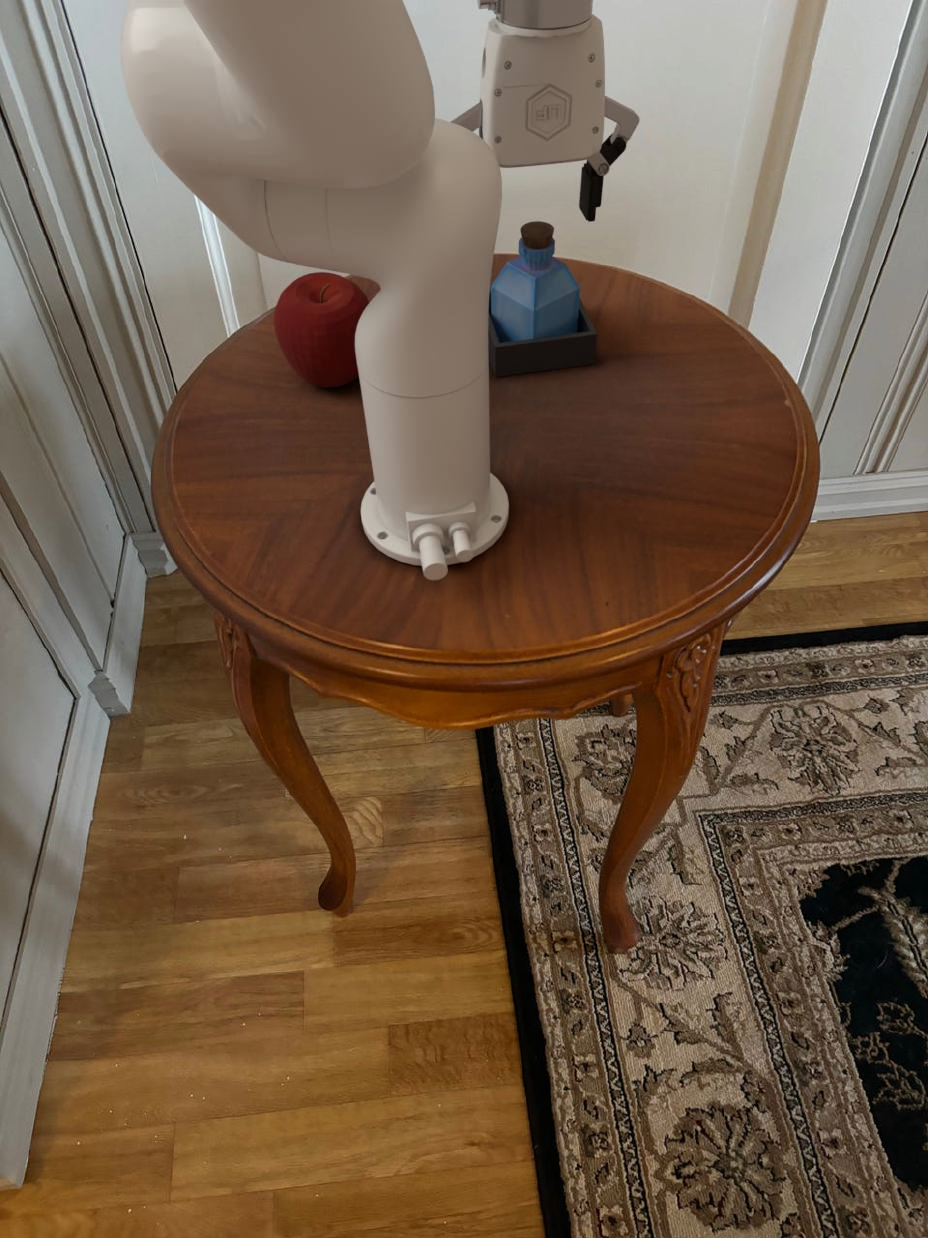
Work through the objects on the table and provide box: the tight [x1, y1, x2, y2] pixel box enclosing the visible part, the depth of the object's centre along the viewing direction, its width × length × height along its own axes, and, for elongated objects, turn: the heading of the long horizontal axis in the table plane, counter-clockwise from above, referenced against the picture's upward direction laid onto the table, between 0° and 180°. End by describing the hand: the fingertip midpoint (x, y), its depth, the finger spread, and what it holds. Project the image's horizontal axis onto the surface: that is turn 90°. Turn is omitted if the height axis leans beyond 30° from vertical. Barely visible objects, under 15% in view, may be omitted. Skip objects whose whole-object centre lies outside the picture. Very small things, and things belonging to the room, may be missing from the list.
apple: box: [273, 271, 370, 389], centre depth 86 cm, size 10×10×10 cm
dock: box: [488, 289, 598, 378], centre depth 91 cm, size 10×10×4 cm
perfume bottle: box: [490, 220, 581, 343], centre depth 88 cm, size 6×6×12 cm
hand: (535, 220), depth 82 cm, fingers open, 9 cm apart
